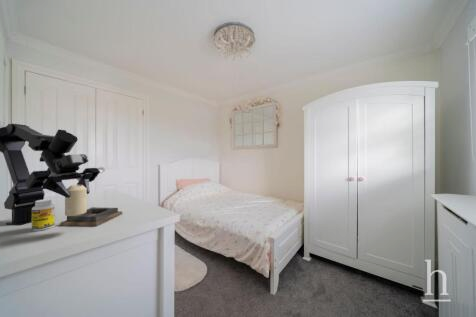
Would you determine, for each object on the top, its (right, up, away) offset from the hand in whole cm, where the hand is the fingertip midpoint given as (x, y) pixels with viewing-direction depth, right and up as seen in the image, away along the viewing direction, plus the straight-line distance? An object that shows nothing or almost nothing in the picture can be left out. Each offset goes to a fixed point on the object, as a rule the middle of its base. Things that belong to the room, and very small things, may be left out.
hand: (79, 194), depth 60 cm
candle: (-1, -7, 0) cm, 7 cm away
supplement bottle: (-16, -13, +3) cm, 21 cm away
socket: (-5, -13, +13) cm, 19 cm away
